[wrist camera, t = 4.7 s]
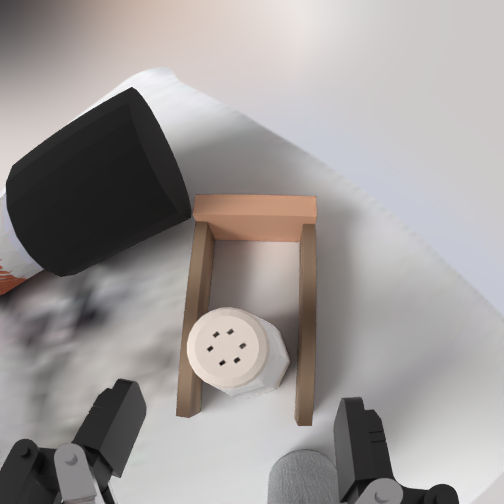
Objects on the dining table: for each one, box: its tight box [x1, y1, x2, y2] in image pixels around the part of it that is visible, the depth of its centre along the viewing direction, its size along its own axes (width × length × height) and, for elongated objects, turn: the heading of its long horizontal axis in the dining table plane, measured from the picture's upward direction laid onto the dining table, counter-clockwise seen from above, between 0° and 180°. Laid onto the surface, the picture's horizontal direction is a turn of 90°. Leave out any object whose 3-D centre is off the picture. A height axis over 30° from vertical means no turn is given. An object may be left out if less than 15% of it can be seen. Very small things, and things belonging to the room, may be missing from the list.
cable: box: [0, 87, 191, 295], centre depth 20 cm, size 10×34×10 cm, turn 109°
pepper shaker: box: [187, 307, 291, 398], centre depth 15 cm, size 5×5×11 cm
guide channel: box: [176, 194, 317, 426], centre depth 19 cm, size 14×8×4 cm, turn 177°
